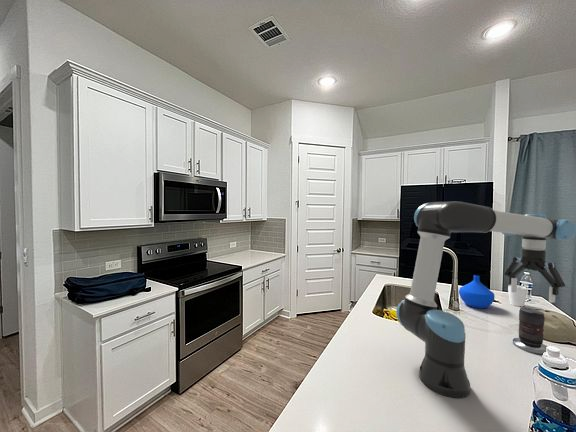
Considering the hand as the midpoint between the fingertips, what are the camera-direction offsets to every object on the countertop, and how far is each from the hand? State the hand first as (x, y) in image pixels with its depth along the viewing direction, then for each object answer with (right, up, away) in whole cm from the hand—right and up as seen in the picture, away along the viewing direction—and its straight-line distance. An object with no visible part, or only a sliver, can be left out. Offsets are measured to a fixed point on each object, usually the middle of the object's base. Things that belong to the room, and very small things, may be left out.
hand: (531, 296), depth 110 cm
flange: (0, -23, 0) cm, 23 cm away
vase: (+13, -22, +50) cm, 56 cm away
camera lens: (0, -22, +1) cm, 22 cm away
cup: (+41, -22, +51) cm, 69 cm away
